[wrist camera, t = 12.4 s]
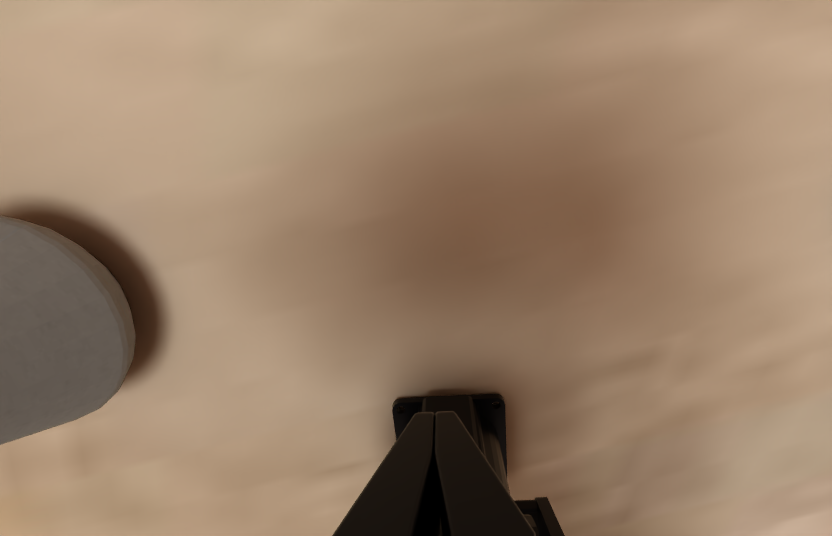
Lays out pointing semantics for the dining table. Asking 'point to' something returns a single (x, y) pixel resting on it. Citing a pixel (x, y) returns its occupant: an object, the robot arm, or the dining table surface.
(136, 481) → the dining table surface
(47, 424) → the coffee pot
